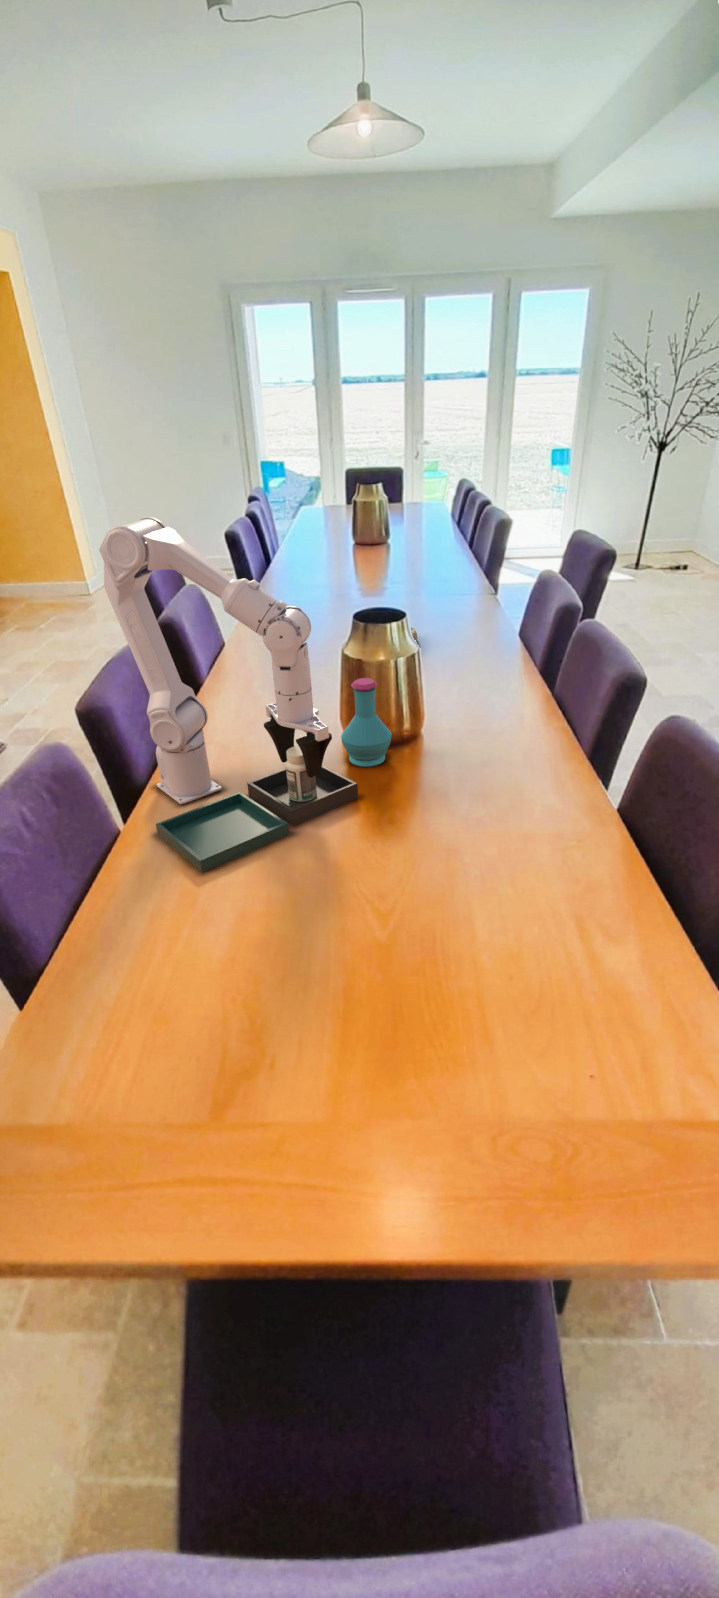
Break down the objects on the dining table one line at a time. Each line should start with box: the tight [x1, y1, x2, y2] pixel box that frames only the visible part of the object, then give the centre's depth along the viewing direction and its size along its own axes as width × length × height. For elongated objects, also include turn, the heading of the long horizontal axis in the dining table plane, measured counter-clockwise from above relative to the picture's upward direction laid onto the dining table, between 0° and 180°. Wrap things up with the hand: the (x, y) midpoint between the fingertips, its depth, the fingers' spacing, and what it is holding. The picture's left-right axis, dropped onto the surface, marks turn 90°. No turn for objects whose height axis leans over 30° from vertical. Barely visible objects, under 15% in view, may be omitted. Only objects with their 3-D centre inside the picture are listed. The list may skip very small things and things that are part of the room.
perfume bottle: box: [340, 677, 392, 768], centre depth 130 cm, size 9×9×15 cm
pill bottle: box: [285, 745, 317, 802], centre depth 119 cm, size 5×5×8 cm
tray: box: [155, 791, 290, 873], centre depth 111 cm, size 14×15×2 cm
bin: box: [246, 764, 359, 827], centre depth 120 cm, size 13×13×3 cm
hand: (300, 767), depth 118 cm, fingers open, 7 cm apart
